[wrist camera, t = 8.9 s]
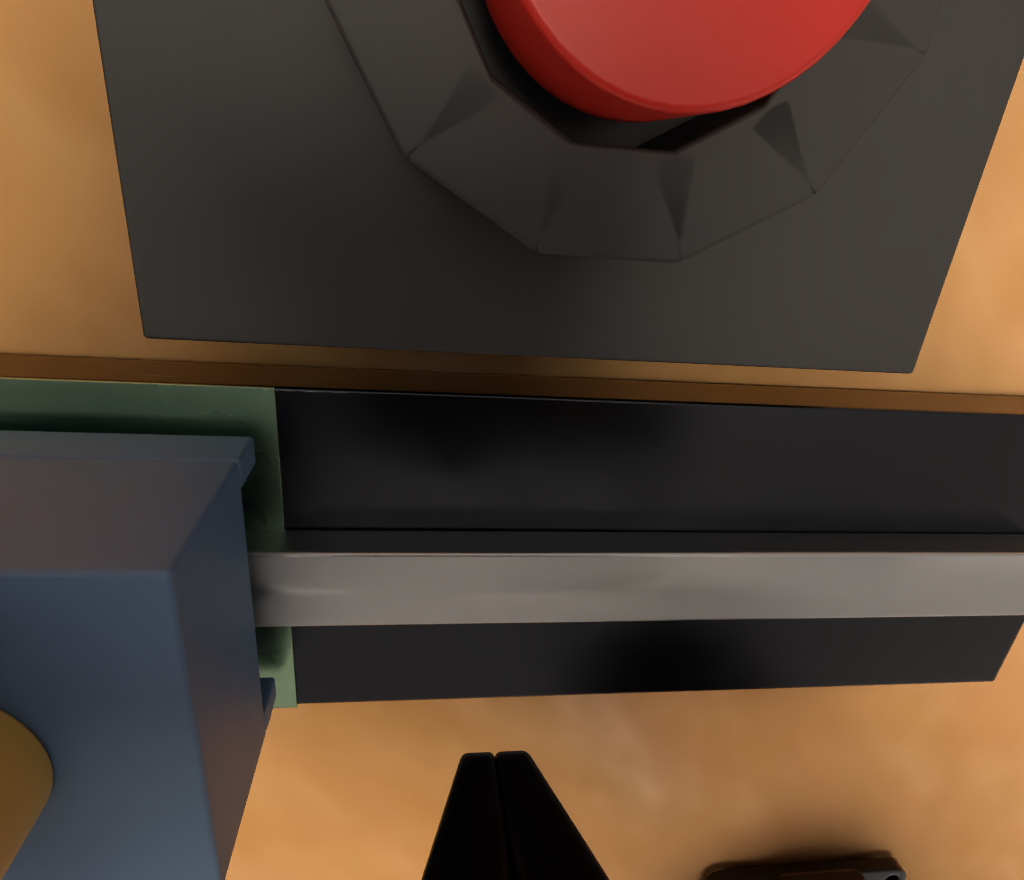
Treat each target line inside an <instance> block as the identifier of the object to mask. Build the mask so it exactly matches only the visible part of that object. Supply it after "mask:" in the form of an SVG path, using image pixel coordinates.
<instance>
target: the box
mask: <svg viewBox="0 0 1024 880" xmlns="http://www.w3.org/2000/svg"><path fill="white" fill-rule="evenodd" d="M93 7H94V13H95V20H96V26H97V33H98V39H99V46H100V52H101V59H102V65H103V72H104V78H105V85H106V91H107V98H108V104H109V111H110V117H111V124H112V131H113V137H114V144H115V150H116V157H117V163H118V170H119V176H120V183H121V189H122V196H123V202H124V209H125V215H126V222H127V228H128V235H129V241H130V248H131V254H132V261H133V268H134V274H135V281H136V287H137V294H138V300H139V307H140V313H141V320H142V326H143V333H144V336H145V337H146V338H152V339H173V340H195V341H216V342H238V343H259V344H281V345H303V346H324V347H346V348H367V349H389V350H411V351H432V352H454V353H475V354H497V355H519V356H540V357H562V358H583V359H605V360H627V361H648V362H670V363H691V364H713V365H734V366H756V367H778V368H799V369H821V370H842V371H864V372H886V373H907V374H908V373H912V372H913V369H914V367H915V364H916V361H917V358H918V355H919V352H920V350H921V347H922V344H923V341H924V338H925V335H926V333H927V330H928V327H929V324H930V321H931V318H932V315H933V313H934V310H935V307H936V304H937V301H938V298H939V296H940V293H941V290H942V287H943V284H944V281H945V279H946V276H947V273H948V270H949V267H950V264H951V262H952V259H953V256H954V253H955V250H956V247H957V245H958V242H959V239H960V236H961V233H962V230H963V228H964V225H965V222H966V219H967V216H968V213H969V210H970V208H971V205H972V202H973V199H974V196H975V193H976V191H977V188H978V185H979V182H980V179H981V176H982V174H983V171H984V168H985V165H986V162H987V159H988V157H989V154H990V151H991V148H992V145H993V142H994V140H995V137H996V134H997V131H998V128H999V125H1000V123H1001V120H1002V117H1003V114H1004V111H1005V108H1006V106H1007V103H1008V100H1009V97H1010V94H1011V91H1012V88H1013V86H1014V83H1015V80H1016V77H1017V74H1018V71H1019V69H1020V66H1021V63H1022V60H1023V57H1024V0H870V1H869V3H868V4H867V6H866V7H865V9H864V10H863V12H862V13H861V15H860V16H859V17H858V18H857V20H856V21H855V22H854V23H853V25H852V26H851V27H850V28H849V29H848V31H847V32H846V33H845V34H844V35H843V37H842V38H841V39H840V40H839V41H838V42H837V43H836V44H835V45H834V46H833V47H832V48H831V49H830V50H829V51H828V52H827V53H826V54H825V55H824V56H823V57H822V58H821V59H820V60H819V61H818V62H817V63H815V64H814V65H813V66H812V67H810V68H809V69H808V70H806V71H805V72H804V73H802V74H801V75H800V76H799V77H797V78H796V79H795V80H793V81H792V82H790V83H788V84H787V85H785V86H783V87H781V88H780V89H778V90H776V91H775V92H773V93H771V94H770V95H767V96H765V97H763V98H760V99H758V100H756V101H753V102H751V103H749V104H746V105H743V106H740V107H736V108H732V109H729V110H725V111H721V112H715V113H708V114H701V115H694V116H687V117H680V118H673V119H666V120H658V121H650V122H642V123H636V122H618V121H612V120H606V119H601V118H598V117H595V116H592V115H589V114H586V113H583V112H581V111H579V110H577V109H575V108H573V107H571V106H569V105H567V104H565V103H563V102H561V101H560V100H559V99H557V98H556V97H554V96H553V95H552V94H550V93H549V92H547V91H546V90H545V89H543V88H542V87H541V86H540V85H539V84H538V83H537V82H536V81H535V80H534V79H533V78H532V77H531V76H530V75H529V74H528V73H527V72H526V71H525V70H524V69H523V67H522V66H521V65H520V64H519V62H518V61H517V60H516V59H515V57H514V56H513V55H512V53H511V52H510V50H509V49H508V47H507V45H506V44H505V42H504V41H503V39H502V37H501V36H500V34H499V32H498V30H497V28H496V26H495V24H494V22H493V20H492V18H491V15H490V13H489V11H488V9H487V6H486V3H485V0H93Z"/></svg>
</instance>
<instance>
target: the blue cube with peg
mask: <svg viewBox="0 0 1024 880" xmlns="http://www.w3.org/2000/svg"><path fill="white" fill-rule="evenodd" d="M255 462H256V460H255V448H254V440H253V438H252V437H233V436H194V435H156V434H117V433H79V432H40V431H2V430H0V880H225V877H226V873H227V869H228V866H229V862H230V859H231V855H232V851H233V848H234V844H235V841H236V837H237V833H238V830H239V826H240V823H241V819H242V816H243V812H244V808H245V805H246V801H247V798H248V794H249V790H250V787H251V783H252V780H253V776H254V773H255V769H256V765H257V762H258V758H259V755H260V751H261V747H262V744H263V740H264V737H265V731H266V729H267V727H268V723H269V720H270V716H271V712H272V709H273V705H274V702H275V698H276V686H275V679H274V678H273V677H266V678H260V674H259V664H258V654H257V644H256V634H255V625H254V615H253V605H252V595H251V585H250V575H249V565H248V555H247V545H246V535H245V525H244V515H243V505H242V495H241V487H242V486H243V484H244V482H245V481H246V479H247V477H248V475H249V473H250V472H251V470H252V468H253V466H254V464H255Z"/></svg>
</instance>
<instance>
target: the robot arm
mask: <svg viewBox="0 0 1024 880" xmlns="http://www.w3.org/2000/svg"><path fill="white" fill-rule="evenodd" d="M905 879H906V873H905V872H904V870H903V869H902V867H901V866H900V864H899V863H898V861H897V860H896V859H895V858H893V857H882V858H869V859H855V860H842V861H829V862H816V863H803V864H789V865H776V866H763V867H750V868H737V869H723V870H718V871H715V872H713V873H711V874H709V875H708V876H707V877H706V878H705V880H905ZM422 880H609V878H608V876H607V875H606V873H605V872H604V870H603V869H602V867H601V866H600V864H599V862H598V861H597V859H596V858H595V856H594V855H593V853H592V851H591V850H590V848H589V847H588V845H587V844H586V842H585V840H584V839H583V837H582V836H581V834H580V833H579V831H578V830H577V828H576V826H575V825H574V823H573V822H572V820H571V819H570V817H569V815H568V814H567V812H566V811H565V809H564V808H563V806H562V804H561V803H560V801H559V800H558V798H557V797H556V795H555V793H554V792H553V790H552V789H551V787H550V786H549V784H548V783H547V781H546V779H545V778H544V776H543V775H542V773H541V772H540V770H539V768H538V767H537V765H536V764H535V762H534V761H533V759H532V758H531V756H530V755H529V754H528V753H527V752H525V751H505V752H498V753H497V754H496V755H495V757H494V755H493V754H492V753H489V752H483V753H466V754H464V755H463V756H462V757H461V759H460V762H459V765H458V768H457V771H456V774H455V777H454V780H453V783H452V787H451V790H450V793H449V796H448V799H447V802H446V805H445V808H444V811H443V814H442V818H441V821H440V824H439V827H438V830H437V833H436V836H435V839H434V842H433V845H432V849H431V852H430V855H429V858H428V861H427V864H426V867H425V870H424V873H423V876H422Z"/></svg>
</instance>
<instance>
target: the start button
mask: <svg viewBox="0 0 1024 880" xmlns="http://www.w3.org/2000/svg"><path fill="white" fill-rule="evenodd" d="M869 1H870V0H485V3H486V6H487V9H488V11H489V13H490V15H491V18H492V20H493V22H494V24H495V26H496V28H497V30H498V32H499V34H500V36H501V37H502V39H503V41H504V42H505V44H506V45H507V47H508V49H509V50H510V52H511V53H512V55H513V56H514V57H515V59H516V60H517V61H518V62H519V64H520V65H521V66H522V67H523V69H524V70H525V71H526V72H527V73H528V74H529V75H530V76H531V77H532V78H533V79H534V80H535V81H536V82H537V83H538V84H539V85H540V86H541V87H542V88H543V89H545V90H546V91H547V92H549V93H550V94H552V95H553V96H554V97H556V98H557V99H559V100H560V101H561V102H563V103H565V104H567V105H569V106H571V107H573V108H575V109H577V110H579V111H581V112H583V113H586V114H589V115H592V116H595V117H598V118H601V119H606V120H612V121H618V122H636V123H642V122H650V121H658V120H666V119H673V118H680V117H687V116H694V115H701V114H708V113H715V112H721V111H725V110H729V109H732V108H736V107H740V106H743V105H746V104H749V103H751V102H753V101H756V100H758V99H760V98H763V97H765V96H767V95H770V94H771V93H773V92H775V91H776V90H778V89H780V88H781V87H783V86H785V85H787V84H788V83H790V82H792V81H793V80H795V79H796V78H797V77H799V76H800V75H801V74H802V73H804V72H805V71H806V70H808V69H809V68H810V67H812V66H813V65H814V64H815V63H817V62H818V61H819V60H820V59H821V58H822V57H823V56H824V55H825V54H826V53H827V52H828V51H829V50H830V49H831V48H832V47H833V46H834V45H835V44H836V43H837V42H838V41H839V40H840V39H841V38H842V37H843V35H844V34H845V33H846V32H847V31H848V29H849V28H850V27H851V26H852V25H853V23H854V22H855V21H856V20H857V18H858V17H859V16H860V15H861V13H862V12H863V10H864V9H865V7H866V6H867V4H868V3H869Z"/></svg>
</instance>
